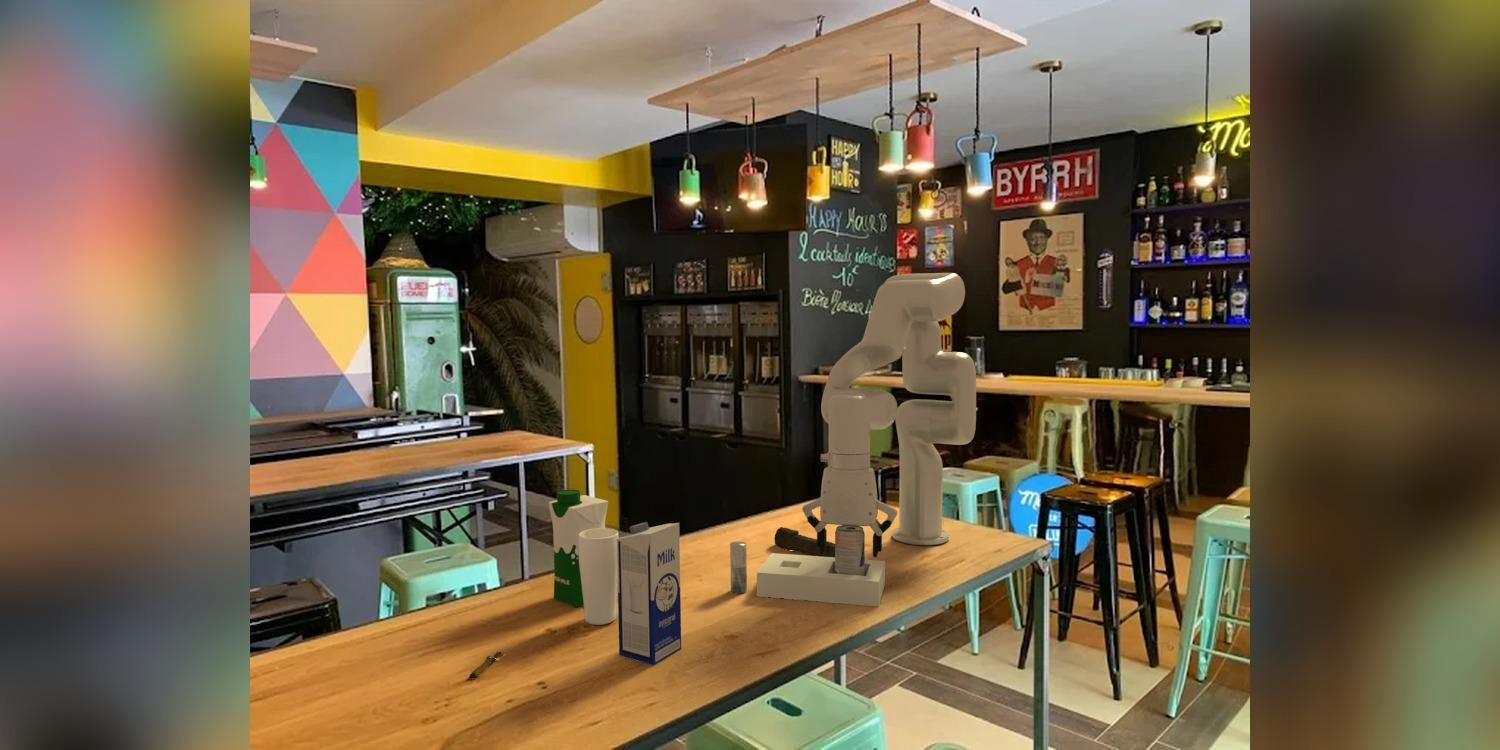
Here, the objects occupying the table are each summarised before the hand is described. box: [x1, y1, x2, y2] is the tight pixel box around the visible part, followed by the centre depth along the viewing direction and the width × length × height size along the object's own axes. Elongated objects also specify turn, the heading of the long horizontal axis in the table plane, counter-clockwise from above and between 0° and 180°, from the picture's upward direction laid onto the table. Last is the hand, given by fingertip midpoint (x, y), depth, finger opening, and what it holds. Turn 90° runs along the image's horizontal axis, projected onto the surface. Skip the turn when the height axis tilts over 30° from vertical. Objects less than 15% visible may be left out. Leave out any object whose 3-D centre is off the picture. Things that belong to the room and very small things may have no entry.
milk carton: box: [616, 521, 682, 666], centre depth 122 cm, size 7×7×20 cm
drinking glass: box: [578, 527, 620, 626], centre depth 135 cm, size 7×7×15 cm
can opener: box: [469, 650, 502, 679], centre depth 119 cm, size 9×2×1 cm, turn 165°
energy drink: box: [834, 525, 866, 576], centre depth 148 cm, size 5×5×12 cm
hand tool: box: [774, 526, 835, 557], centre depth 173 cm, size 19×4×5 cm, turn 44°
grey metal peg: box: [729, 541, 748, 595], centre depth 149 cm, size 3×3×9 cm
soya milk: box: [548, 489, 609, 609], centre depth 146 cm, size 9×9×20 cm
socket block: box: [756, 552, 886, 608], centre depth 149 cm, size 12×22×4 cm, turn 75°
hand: (849, 553), depth 148 cm, fingers open, 9 cm apart
